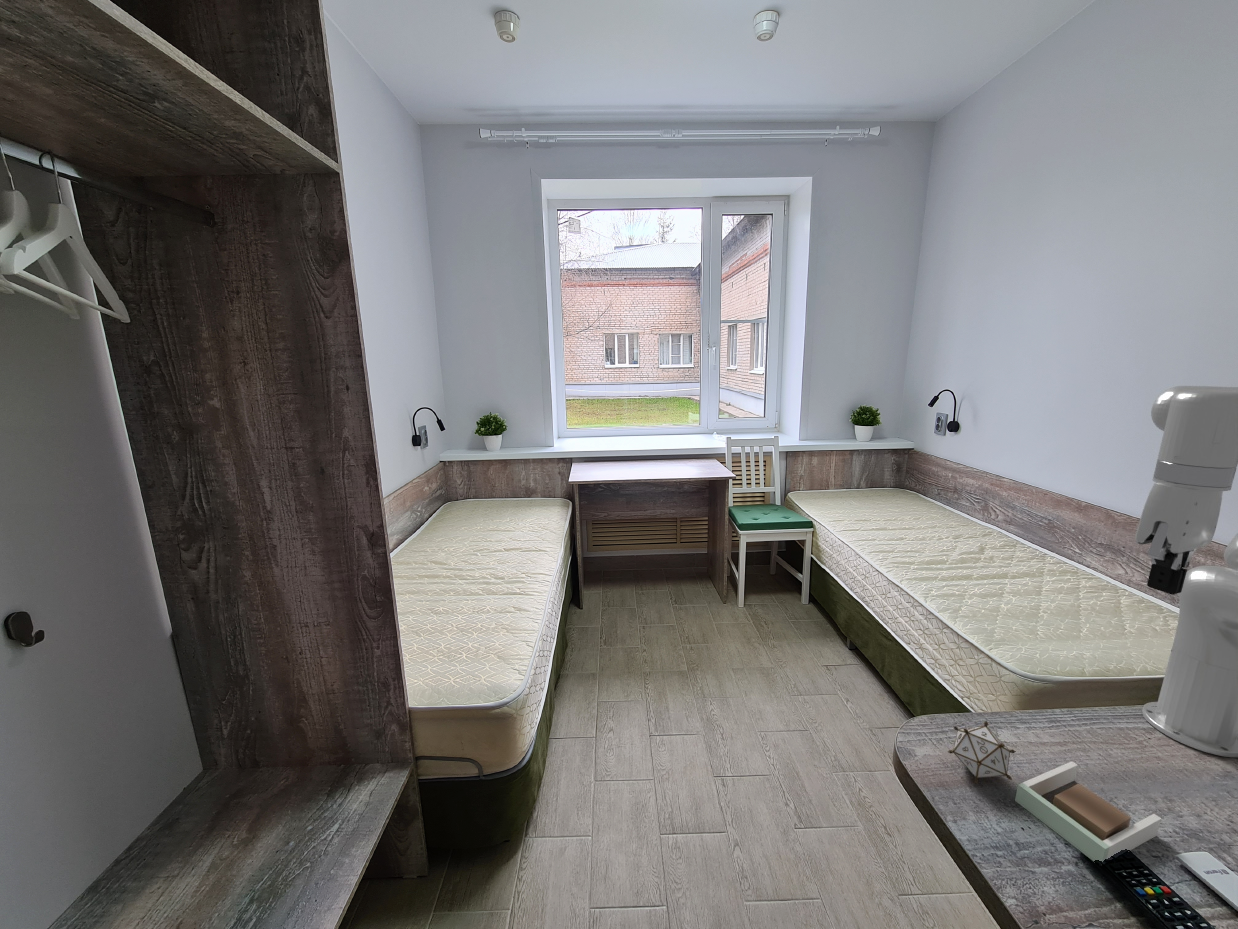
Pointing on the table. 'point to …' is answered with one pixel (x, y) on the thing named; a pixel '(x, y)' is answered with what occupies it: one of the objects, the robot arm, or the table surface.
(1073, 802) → the walnut block
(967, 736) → the game die
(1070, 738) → the table surface
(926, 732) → the table surface
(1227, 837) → the table surface
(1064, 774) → the walled bay
